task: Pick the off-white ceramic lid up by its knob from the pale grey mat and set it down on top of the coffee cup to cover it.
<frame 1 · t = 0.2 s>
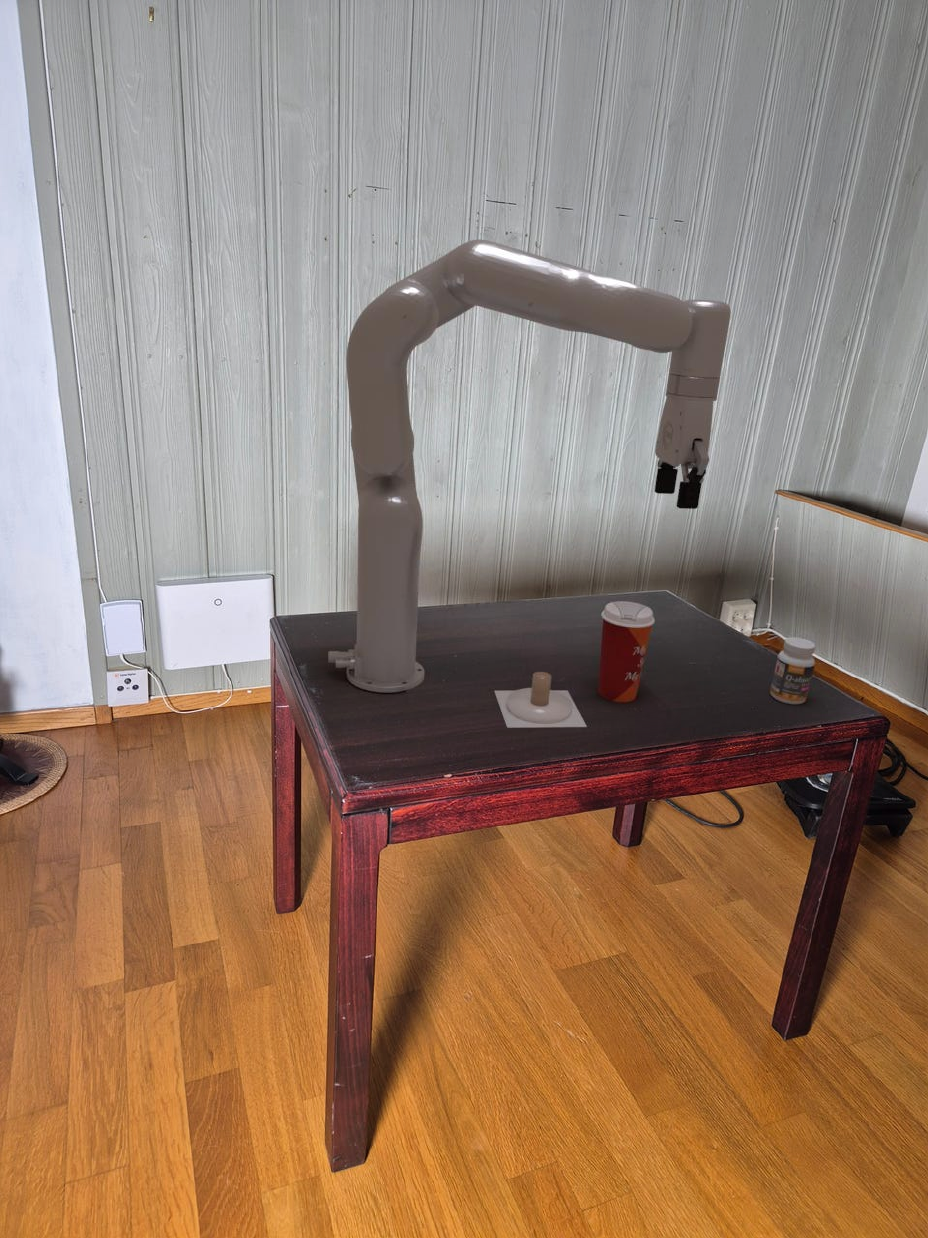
hand: (675, 500, 132), 31 cm above the table, tool pointing down, fingers open, 9 cm apart
pill bottle: (787, 698, 139), on the table
mat: (538, 710, 129), on the table
lid: (538, 708, 129), resting on mat
coffee cup: (616, 696, 136), on the table
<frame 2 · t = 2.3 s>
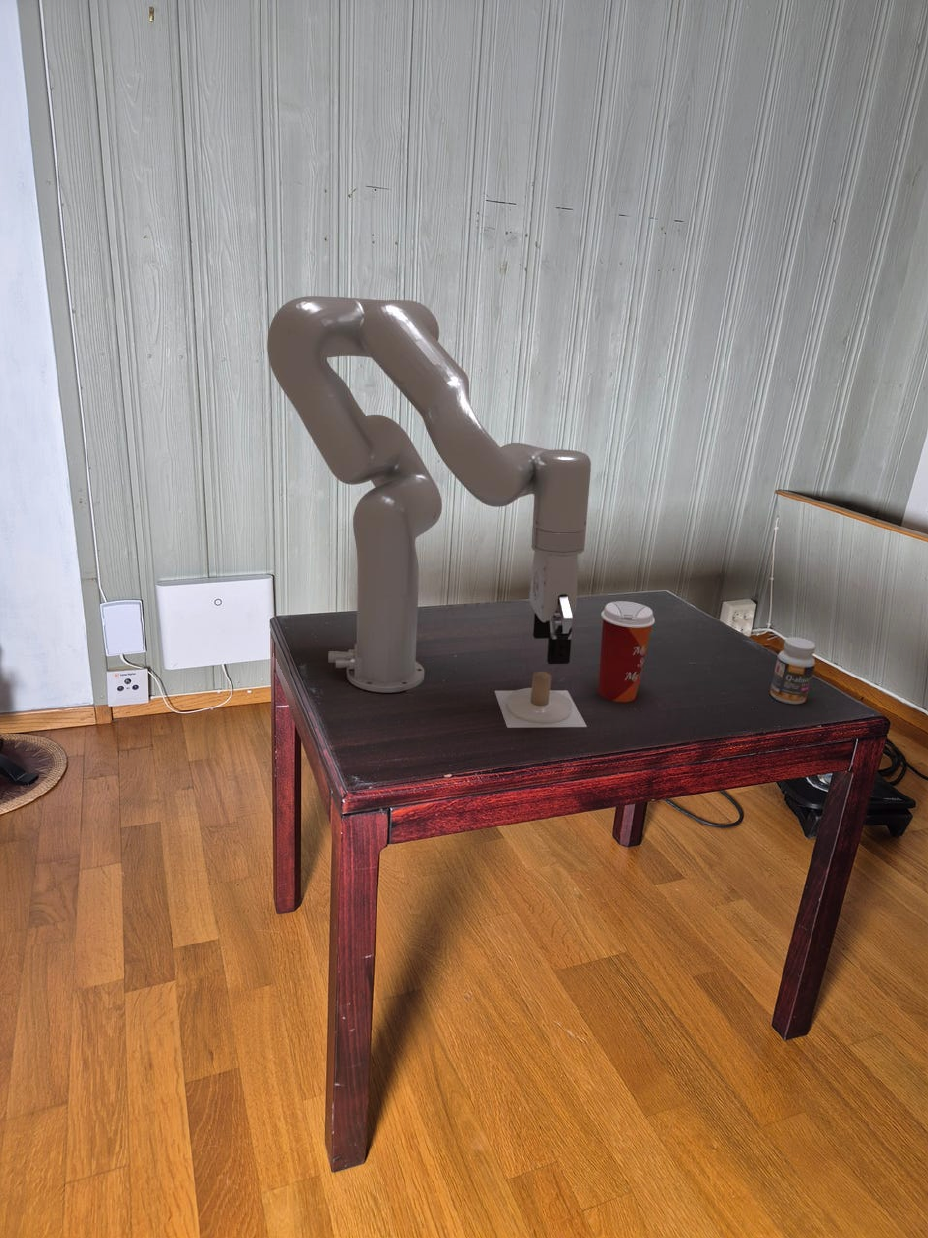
hand: (550, 650, 125), 10 cm above the table, tool pointing down, fingers open, 9 cm apart
nothing on the table moved.
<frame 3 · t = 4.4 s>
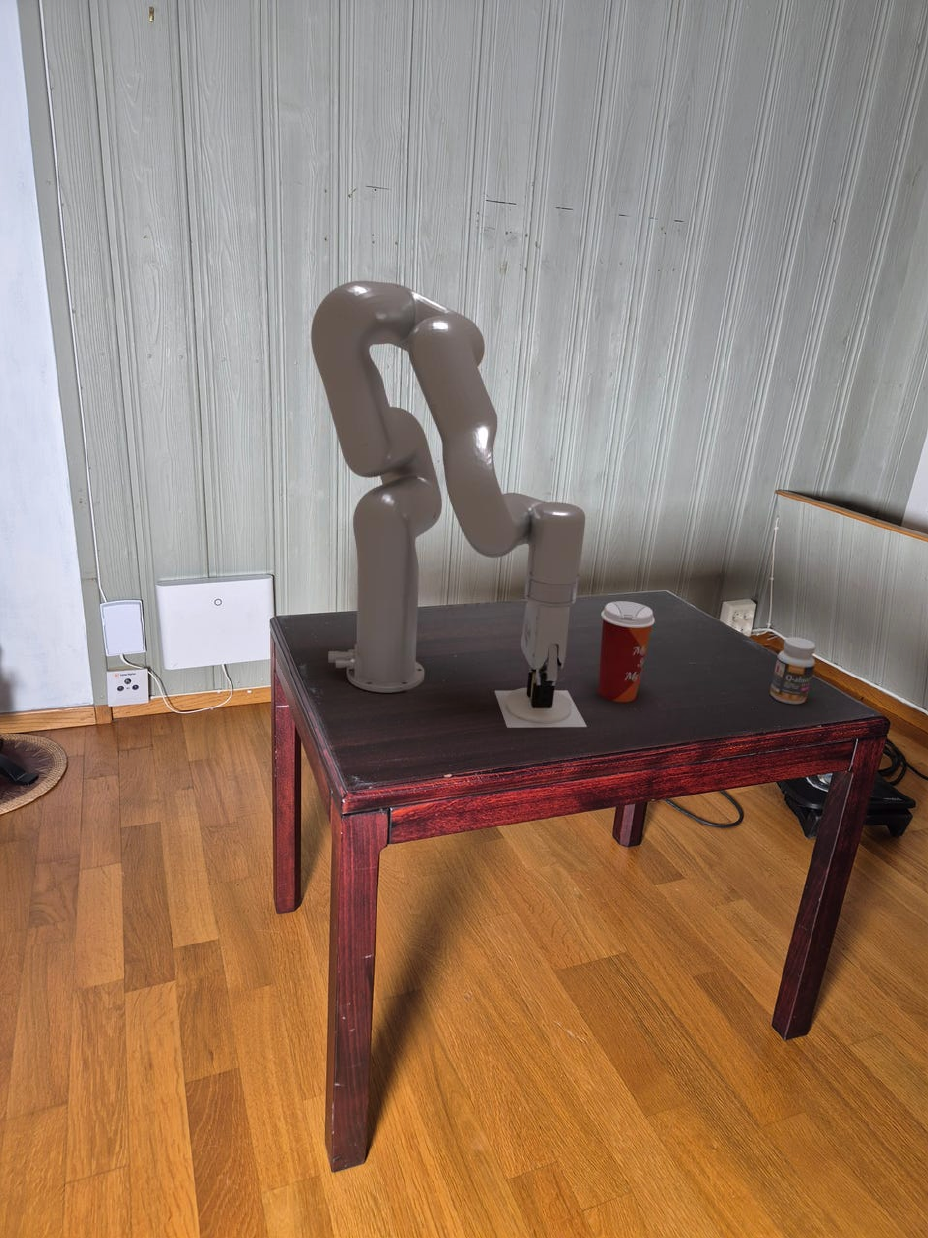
hand: (539, 700, 128), 2 cm above the table, tool pointing down, fingers closed on lid, 2 cm apart
lid: (538, 707, 129), resting on mat, touching gripper
everything else where it was.
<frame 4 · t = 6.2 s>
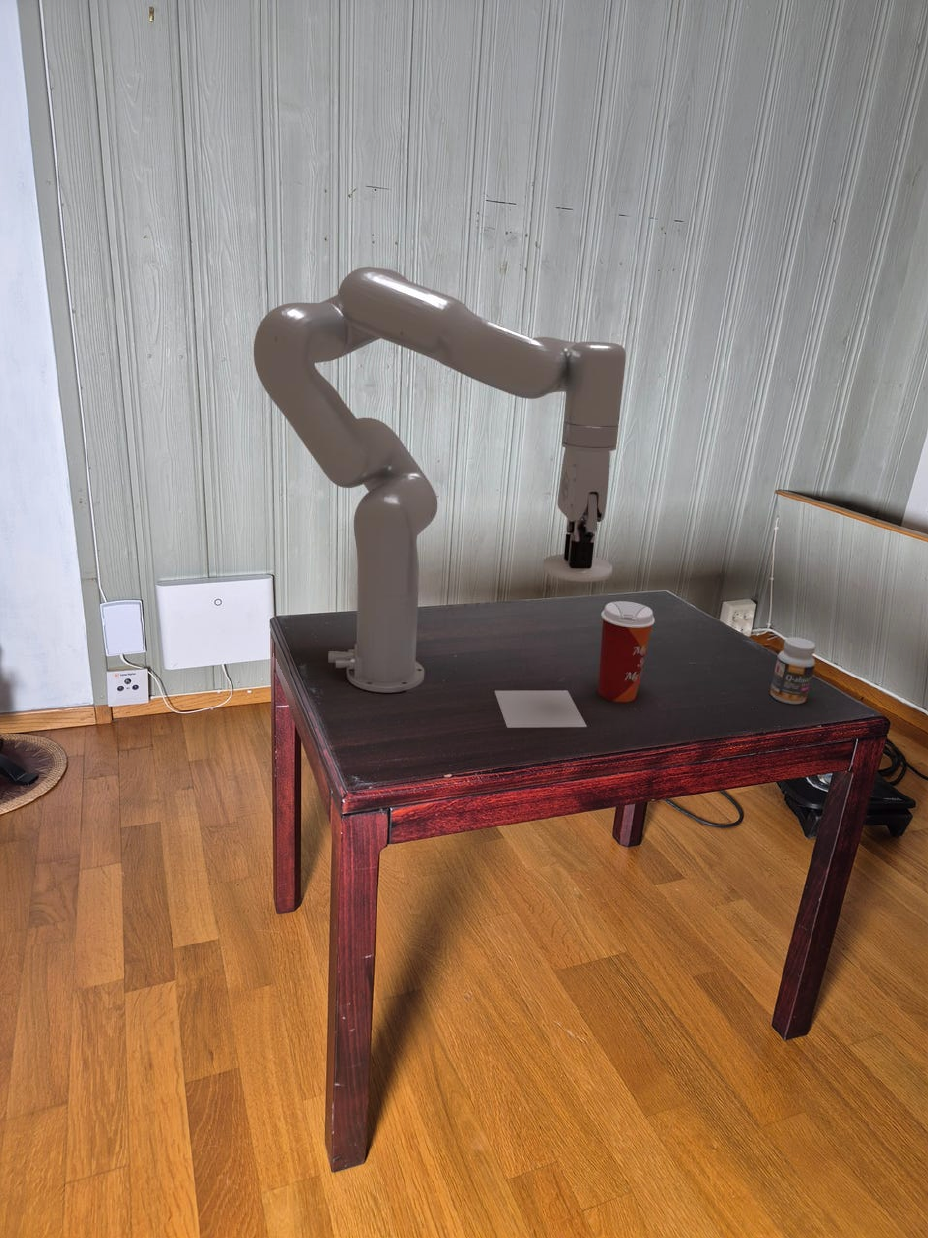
hand: (577, 562, 122), 24 cm above the table, tool pointing down, fingers closed on lid, 2 cm apart
lid: (577, 570, 122), point 22 cm above the table, touching gripper
everything else where it was.
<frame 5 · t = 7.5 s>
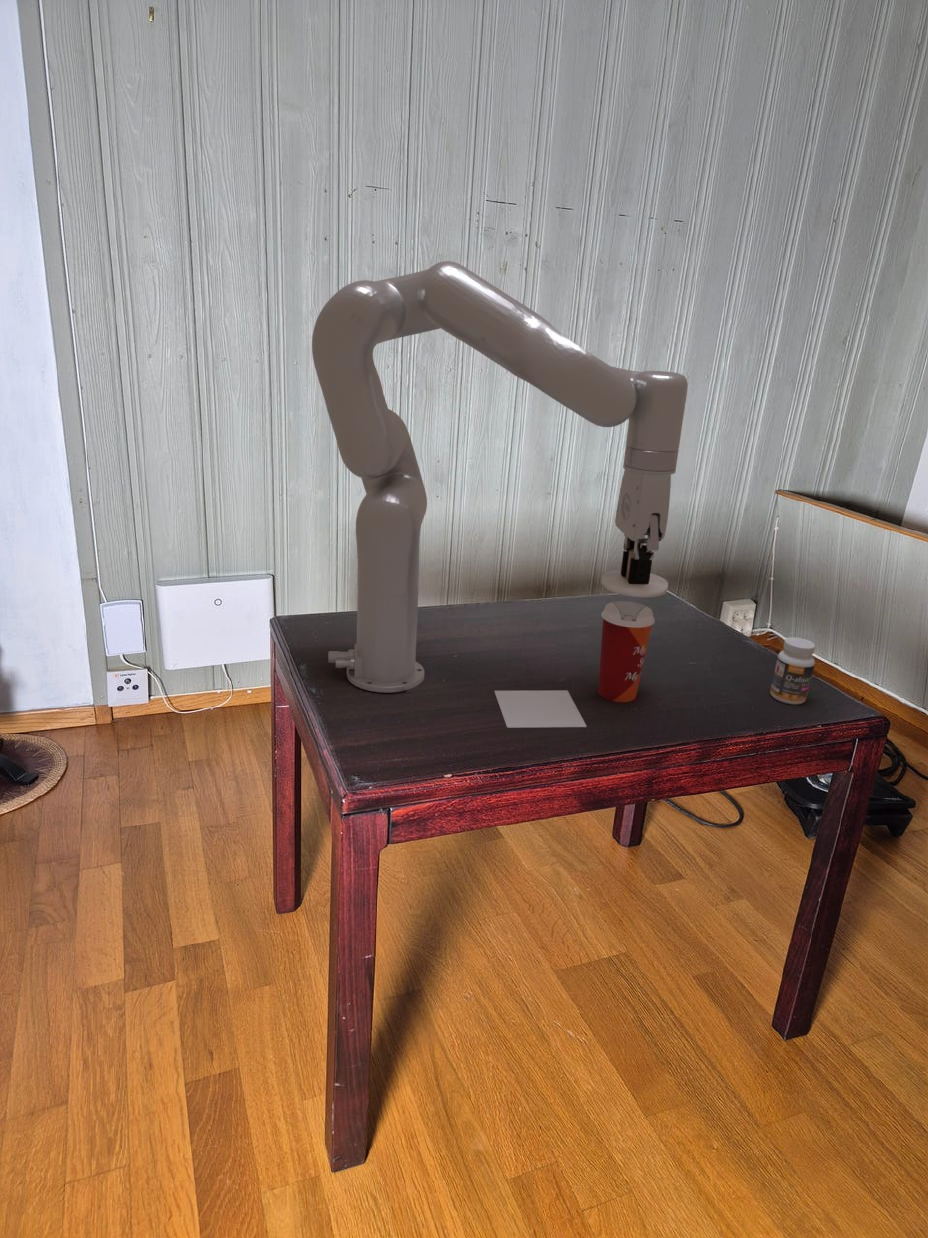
hand: (634, 578, 128), 20 cm above the table, tool pointing down, fingers closed on lid, 2 cm apart
lid: (634, 586, 129), point 19 cm above the table, touching gripper
everything else where it was.
when the fingers open (18 cm above the table, at t = 8.5 s): lid drops 1 cm, resting on coffee cup.
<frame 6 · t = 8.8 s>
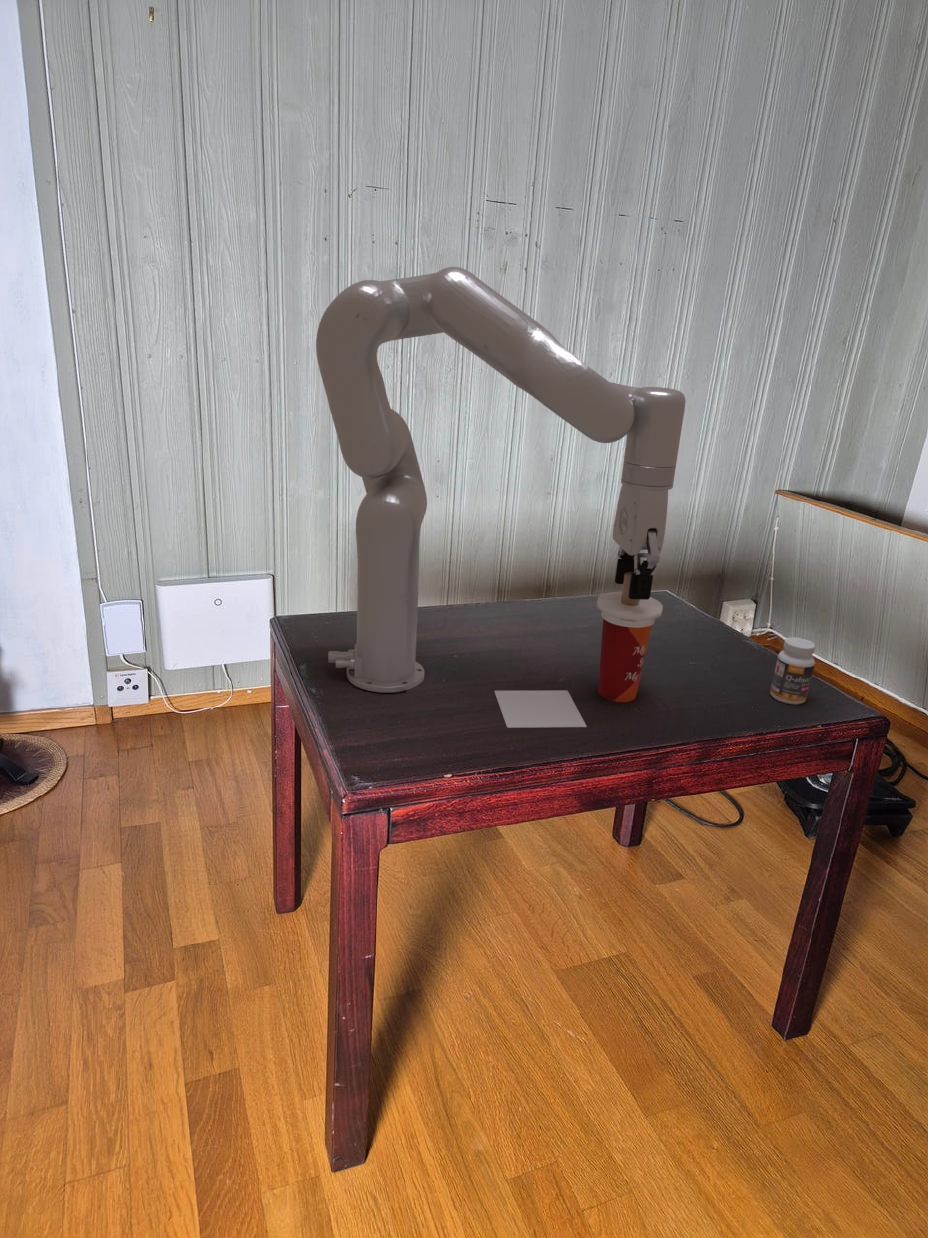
hand: (631, 589, 129), 18 cm above the table, tool pointing down, fingers open, 6 cm apart
lid: (629, 608, 130), point 15 cm above the table, touching coffee cup
coffee cup: (616, 696, 136), on the table, touching lid
everything else where it was.
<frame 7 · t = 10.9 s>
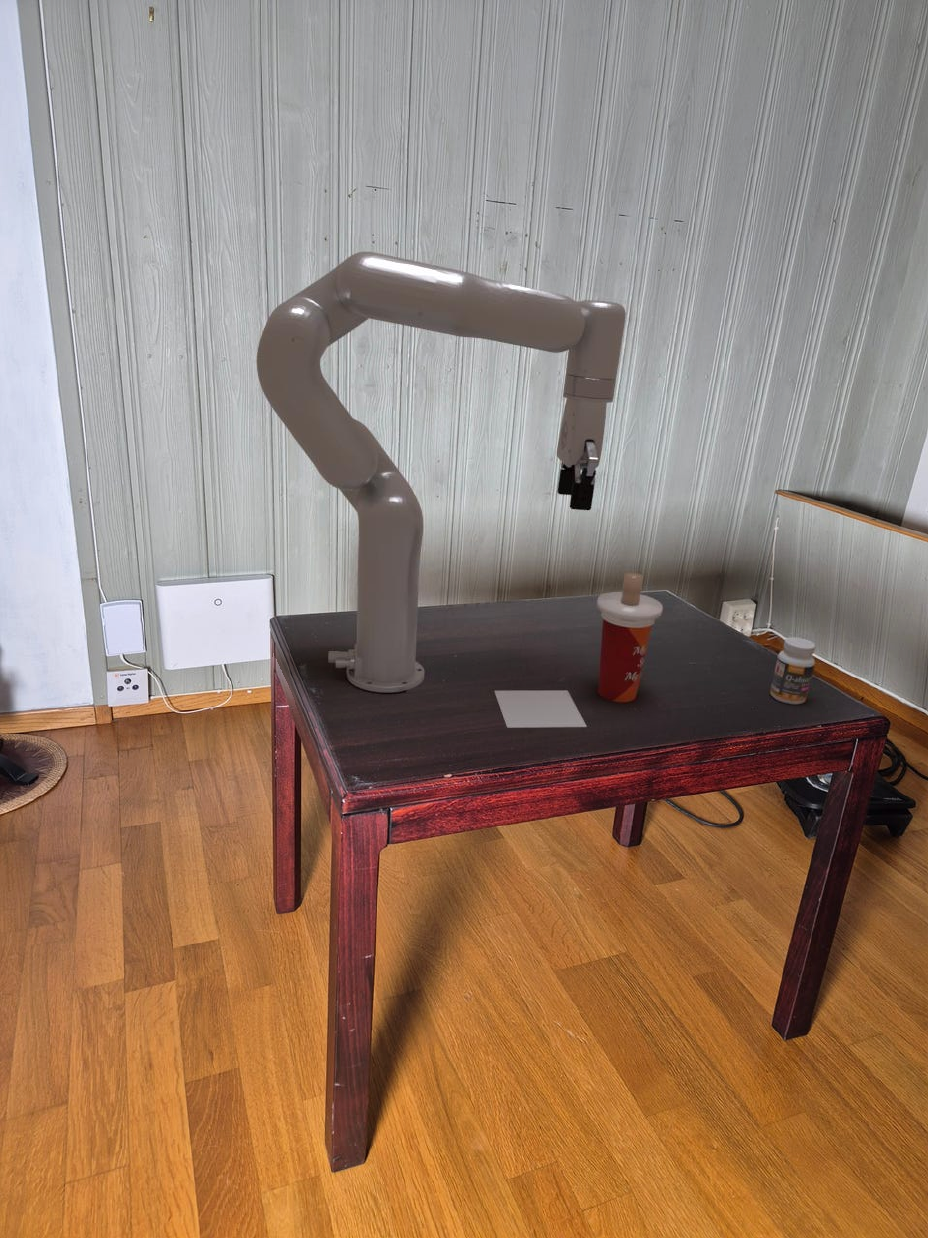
hand: (573, 501, 131), 30 cm above the table, tool pointing down, fingers open, 9 cm apart
nothing on the table moved.
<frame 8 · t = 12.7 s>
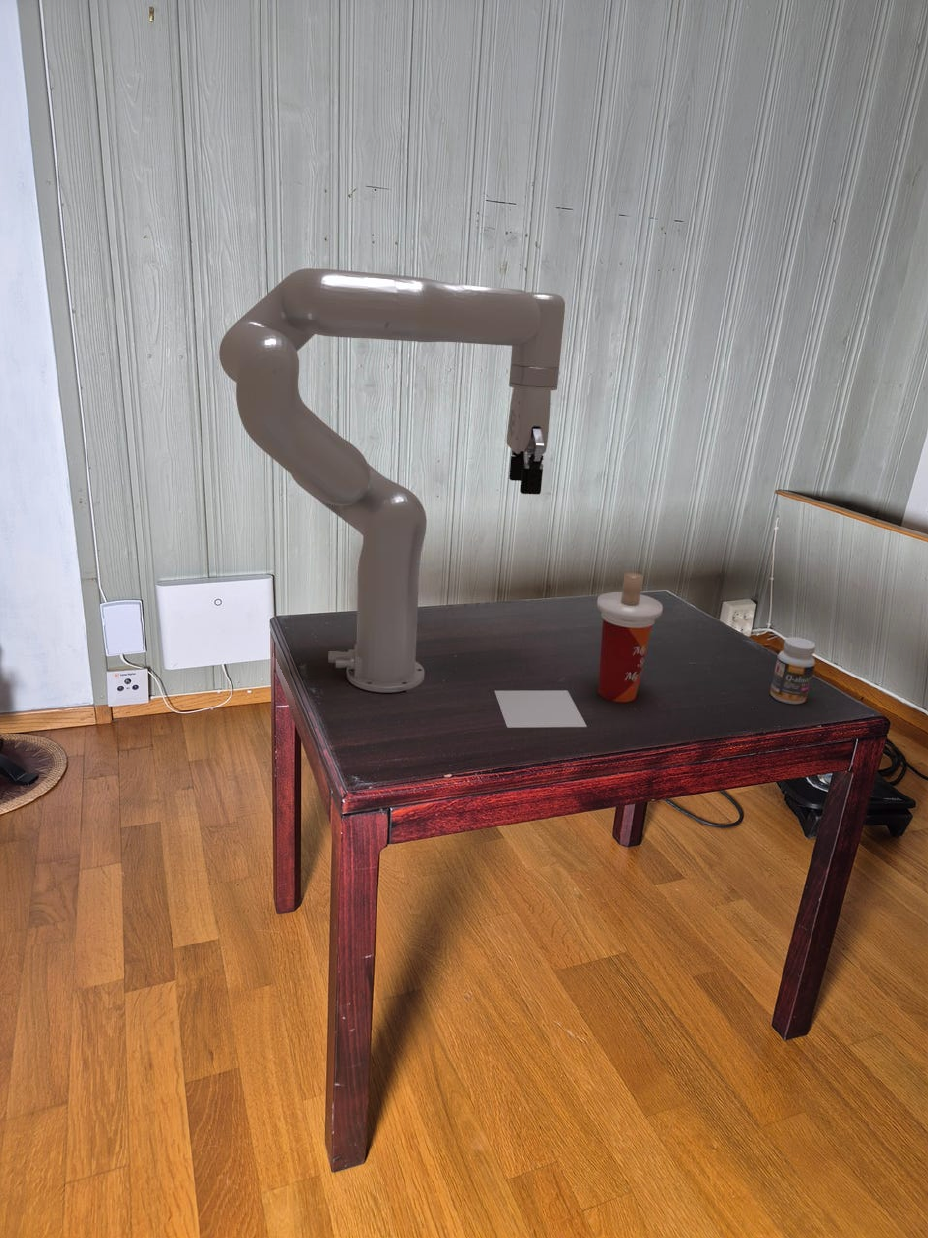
hand: (524, 486, 136), 30 cm above the table, tool pointing down, fingers open, 9 cm apart
nothing on the table moved.
at the end: lid 0.0 cm off-centre on the coffee cup, point 15.2 cm above the coffee cup's base; lid tilted 0°; the gripper is holding nothing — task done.
